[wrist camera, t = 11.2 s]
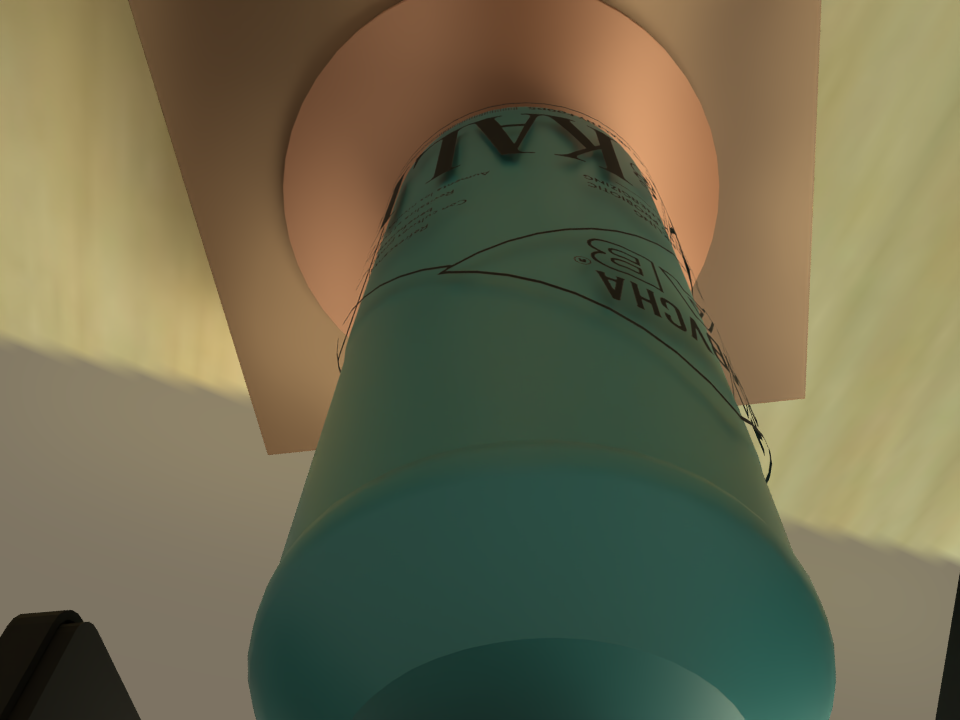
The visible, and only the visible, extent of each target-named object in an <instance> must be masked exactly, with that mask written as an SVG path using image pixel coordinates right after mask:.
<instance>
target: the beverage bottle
mask: <svg viewBox="0 0 960 720" xmlns="http://www.w3.org/2000/svg"><path fill="white" fill-rule="evenodd" d="M525 103H527V102H525ZM507 104H521V103H507ZM531 104H545V103H531ZM502 105H506V104H502ZM546 105H550V104H546ZM496 106H500V105H496ZM552 106H556V105H552ZM491 107H495V106H491ZM557 107H562V106H557ZM487 108H490V107H487ZM563 108H565V107H563ZM484 109H486V108H484ZM566 109H569V108H566ZM481 110H483V109H481ZM569 110H572V109H569ZM478 111H480V110H478ZM572 111H575V110H572ZM475 112H477V111H475ZM576 112H578V111H576ZM471 113H474V112H471ZM471 113H469V114H471ZM579 113H581V112H579ZM469 114H467V115H469ZM582 114H583V113H582ZM584 115H585V114H584ZM465 116H466V115H465ZM586 116H587V115H586ZM463 117H464V116H463ZM588 117H590V116H588ZM461 118H462V117H461ZM590 118H592V117H590ZM459 119H460V118H459ZM592 119H594V118H592ZM457 120H458V119H457ZM594 120H596V119H594ZM454 121H456V120H454ZM454 121H453V122H454ZM597 121H598V120H597ZM451 123H452V122H451ZM451 123H450V124H451ZM592 123H593V124H592ZM600 123H601V122H600ZM602 124H603V123H602ZM448 125H449V124H448ZM448 125H447V126H448ZM603 125H604V124H603ZM453 126H454V125H453ZM453 126H452V128H451V127H450V129H449V128H448V130H447V129H446V130H447V131H446V130H445V132H444V131H443V134H442V133H441V136H440V134H439V137H438V135H437V137H438V138H437V137H435V138H437V139H436V140H435V139H434V138H433V139H434V140H435V141H433V140H431V141H433V142H432V143H431V142H429V143H431V144H430V145H429V146H428V147H427V148H426V149H425V150H424V152H423V153H422V154H421V155H420V156H419V157H418V158H417V159H416V162H415V163H414V164H413V166H412V167H411V169H410V170H409V172H408V174H407V176H406V178H405V180H404V182H403V183H402V186H401V188H400V185H401V182H402V179H403V177H404V174H405V173H404V174H403V176H402V177H401V179H400V180H399V181H398V183H397V185H396V187H395V186H394V187H395V188H393V189H394V190H393V191H394V192H392V193H393V195H392V194H391V195H392V198H391V200H390V203H389V206H388V209H386V210H387V212H386V214H384V215H385V217H384V216H383V217H384V220H383V223H382V225H381V228H380V230H381V229H382V227H383V226H384V225H385V223H386V222H387V220H388V219H389V218H390V219H389V222H388V225H387V228H386V231H385V233H383V230H384V227H383V230H382V233H383V236H382V233H381V236H382V237H383V240H382V242H381V243H380V245H381V246H380V245H379V242H378V245H377V247H378V248H376V249H375V251H374V256H375V253H376V250H377V249H378V252H377V257H376V260H374V262H375V263H374V266H373V268H372V269H371V274H370V268H371V266H372V264H373V263H372V262H373V259H374V256H373V255H372V256H373V259H372V262H371V265H370V268H368V270H369V271H368V270H367V271H368V273H369V280H368V283H367V286H366V289H365V292H364V295H363V298H362V299H361V300H360V301H359V299H360V297H361V294H362V291H363V288H364V285H365V282H366V279H367V276H368V274H367V276H366V279H365V282H364V285H363V288H362V291H361V294H360V296H359V299H358V302H357V305H358V304H359V303H360V302H361V303H360V306H359V309H358V312H357V315H356V318H355V321H354V324H353V327H352V329H351V333H350V336H349V339H348V342H347V346H346V350H345V358H344V364H343V367H342V370H341V369H340V367H339V358H340V354H341V351H342V348H343V345H344V343H345V340H346V337H347V334H348V331H349V328H350V325H351V322H352V320H353V317H354V314H355V311H356V308H357V305H356V306H355V307H356V308H355V307H354V308H355V311H354V314H353V316H352V319H351V322H350V325H349V328H348V331H347V334H346V336H345V339H344V342H343V345H342V348H341V351H340V354H339V357H338V353H337V361H338V368H339V371H340V376H339V379H338V382H337V385H336V389H335V392H334V395H333V398H332V401H331V404H330V407H329V410H328V413H327V417H326V420H325V423H324V426H323V429H322V432H321V435H320V438H319V442H318V445H317V448H316V451H315V454H314V457H313V460H312V463H311V467H310V470H309V473H308V476H307V479H306V483H305V485H304V488H303V492H302V495H301V498H300V501H299V504H298V507H297V510H296V513H295V516H294V520H293V523H292V526H291V529H290V532H289V535H288V538H287V542H286V544H285V548H284V551H283V554H282V557H281V560H280V563H279V565H278V567H277V569H276V570H275V572H274V574H273V576H272V577H271V579H270V581H269V583H268V586H267V588H266V590H265V593H264V595H263V598H262V601H261V604H260V606H259V609H258V611H257V614H256V618H255V622H254V626H253V630H252V636H251V641H250V647H249V651H248V683H249V688H250V693H251V699H252V704H253V709H254V713H255V717H256V720H829V718H830V714H831V711H832V707H833V699H834V691H835V683H836V674H835V673H836V671H835V655H834V643H833V640H832V636H831V632H830V628H829V624H828V620H827V617H826V615H825V612H824V609H823V606H822V604H821V601H820V599H819V597H818V595H817V593H816V591H815V588H814V586H813V584H812V582H811V580H810V577H809V576H808V574H807V573H806V571H805V570H804V568H803V567H802V565H801V564H800V562H799V561H798V559H797V558H796V556H795V555H794V553H793V551H792V548H791V546H790V543H789V541H788V538H787V535H786V533H785V530H784V527H783V525H782V522H781V520H780V517H779V514H778V512H777V509H776V507H775V504H774V501H773V499H772V496H771V494H770V491H769V488H768V486H767V482H768V480H769V478H770V473H771V466H772V461H771V454H770V450H769V455H770V466H769V473H768V475H767V478H766V480H765V478H764V475H763V473H762V469H761V465H760V461H759V458H758V455H757V452H756V450H755V448H754V445H753V443H752V440H751V438H750V435H749V433H748V430H747V428H746V426H745V423H744V421H745V422H747V423H748V424H750V425H752V426H753V429H754V431H755V433H756V436H757V438H758V441H759V443H760V445H761V448H762V450H763V453H764V448H763V446H762V444H761V441H760V439H762V437H763V435H762V434H761V432H760V431H759V430H758V429H757V427H756V424H755V422H754V424H755V426H754V425H753V422H752V420H751V422H750V421H749V420H747V419H746V418H744V417H742V416H741V413H740V411H739V409H738V406H737V404H736V401H735V399H734V389H733V394H732V391H731V389H730V386H729V384H728V382H727V379H726V377H725V374H724V372H723V369H722V367H721V364H722V365H723V366H724V367H725V368H726V369H727V370H728V372H729V373H730V370H731V372H732V375H733V377H734V378H733V382H734V380H735V381H736V383H737V384H738V386H739V384H740V382H739V379H738V378H737V376H736V374H735V373H736V372H735V373H734V374H733V372H734V371H732V369H733V368H732V369H731V367H730V365H732V364H729V362H731V361H729V362H728V360H727V356H725V354H724V353H723V354H724V356H725V358H726V361H727V363H728V366H727V364H726V362H725V359H724V357H723V355H722V352H721V350H720V347H719V345H718V344H717V343H716V342H715V341H714V340H713V338H712V337H711V336H710V335H709V334H708V333H707V330H706V328H707V327H706V326H705V325H704V323H703V320H702V317H703V316H704V314H703V313H702V311H703V312H704V313H705V312H706V311H705V310H704V308H703V309H702V308H701V307H700V306H699V305H698V304H697V303H696V302H695V301H694V298H693V287H692V281H691V280H692V279H691V275H690V270H692V269H689V268H690V267H689V266H688V264H687V262H688V261H687V260H686V259H685V257H684V254H683V253H684V252H683V251H682V249H681V248H682V246H680V244H679V247H680V249H679V250H681V251H680V252H681V253H682V258H683V260H684V263H685V267H686V270H687V271H686V270H685V271H686V272H687V273H688V276H689V280H690V283H691V288H692V293H691V291H690V288H689V286H688V284H687V281H686V279H685V276H684V274H683V271H682V269H681V266H680V264H681V263H680V262H679V261H678V259H677V257H676V254H675V252H674V249H673V247H672V242H670V239H671V240H672V241H673V238H672V237H673V236H672V237H671V235H672V234H673V235H674V234H675V235H676V237H675V238H677V234H676V232H675V230H674V227H673V225H672V223H671V225H672V227H673V228H672V227H671V228H670V226H669V229H670V235H669V236H670V239H669V237H668V234H667V232H666V230H665V229H667V228H666V226H665V221H664V225H663V222H662V220H663V219H662V218H661V217H660V215H659V212H658V210H657V208H656V205H655V203H654V200H653V198H652V196H653V197H654V198H655V199H656V200H657V198H656V196H655V195H654V193H655V191H654V189H653V187H652V185H651V184H650V185H651V187H652V189H651V188H650V187H649V186H650V185H649V183H650V182H649V183H648V182H647V180H648V179H647V178H646V179H647V180H646V179H645V178H644V177H643V175H644V174H643V173H641V171H640V170H639V168H638V167H637V165H636V164H635V162H634V161H633V159H632V158H631V156H630V155H629V154H628V153H627V152H626V151H625V150H624V148H623V147H622V146H621V145H620V144H619V143H618V142H617V141H616V140H614V139H613V138H612V137H611V136H610V135H609V134H608V133H609V132H608V131H607V130H606V129H605V130H606V131H607V132H608V133H606V132H605V131H603V130H602V129H600V128H601V126H600V125H598V127H597V125H596V126H595V123H594V122H591V123H590V121H589V120H587V121H586V120H585V119H583V117H578V116H575V115H573V114H569V113H566V112H564V111H559V110H554V109H548V108H541V107H508V108H502V109H497V110H492V111H487V112H484V113H482V114H479V115H476V116H472V117H471V118H470V117H469V119H468V118H467V119H466V120H464V121H462V122H461V123H460V122H459V123H457V125H456V124H455V126H454V127H453ZM605 126H606V125H605ZM445 127H446V126H445ZM599 127H600V128H599ZM606 127H607V126H606ZM443 128H444V127H443ZM443 128H442V129H443ZM602 128H603V127H602ZM608 128H609V127H608ZM609 129H610V128H609ZM440 130H441V129H440ZM440 130H439V131H440ZM611 130H612V129H611ZM612 131H613V130H612ZM437 132H438V131H437ZM437 132H436V133H437ZM436 133H435V134H436ZM435 134H434V135H435ZM611 134H612V133H611ZM616 134H617V133H616ZM617 135H618V134H617ZM612 136H613V134H612ZM618 136H619V135H618ZM431 137H432V136H431ZM431 137H430V138H431ZM614 137H616V136H615V135H614ZM619 137H620V136H619ZM430 138H429V139H430ZM620 138H621V137H620ZM429 139H428V140H429ZM619 140H620V139H619ZM620 141H621V140H620ZM624 141H625V140H624ZM425 142H426V141H425ZM425 142H424V143H425ZM625 142H626V141H625ZM424 143H423V144H424ZM621 143H622V144H623V142H622V141H621ZM626 143H627V142H626ZM423 144H422V145H423ZM427 144H428V143H427ZM627 144H628V143H627ZM422 145H421V146H422ZM624 145H625V144H624ZM628 145H629V144H628ZM425 146H426V145H425ZM625 146H626V145H625ZM626 147H627V146H626ZM423 148H425V147H423ZM628 148H629V147H628ZM421 150H423V149H421ZM629 150H630V148H629ZM632 150H633V149H632ZM633 151H634V150H633ZM419 152H420V151H419ZM634 152H635V151H634ZM414 154H415V153H414ZM414 154H413V155H414ZM633 154H634V153H633ZM413 155H412V156H413ZM416 155H418V154H416ZM634 155H635V154H634ZM412 156H411V157H412ZM415 157H416V156H414V158H415ZM635 157H637V156H636V155H635ZM637 159H638V158H637ZM409 160H410V159H409ZM411 160H413V158H412V159H411ZM410 162H411V161H410ZM410 162H409V163H410ZM407 163H408V162H407ZM409 163H408V164H409ZM641 164H642V163H641ZM642 165H643V164H642ZM404 167H405V166H404ZM406 167H407V166H406ZM406 167H405V168H406ZM409 167H410V166H409ZM402 170H403V169H402ZM406 171H407V170H406ZM646 171H647V170H646ZM646 171H645V172H646ZM403 172H404V171H403ZM642 174H643V175H642ZM401 175H402V174H401ZM401 175H400V176H401ZM647 175H648V174H647ZM400 176H399V177H400ZM650 177H651V176H650ZM650 177H649V178H650ZM651 178H652V177H651ZM398 179H399V178H398ZM650 180H651V179H650ZM652 180H653V179H652ZM652 180H651V181H652ZM648 181H649V180H648ZM653 182H654V181H653ZM653 182H652V183H653ZM395 183H396V182H395ZM646 183H647V184H648V185H649V186H648V185H647V184H646ZM394 185H395V184H394ZM653 185H654V187H655V188H656V186H655V184H654V183H653ZM399 188H400V191H399ZM649 189H650V190H652V191H653V192H654V193H653V192H652V191H651V192H652V194H653V195H652V194H651V193H650V190H649ZM656 190H657V189H656ZM398 191H399V194H398ZM657 192H658V191H657ZM397 194H398V197H397ZM655 194H656V193H655ZM658 194H659V192H658ZM390 197H391V196H390ZM396 197H397V199H396ZM659 197H660V195H659ZM660 199H661V197H660ZM395 200H396V202H395ZM388 201H389V200H388ZM660 201H661V202H662V200H660ZM394 202H395V205H394ZM662 203H663V202H662ZM662 203H661V205H664V204H662ZM387 205H388V204H387ZM393 205H394V208H393ZM392 208H393V211H392ZM664 208H665V206H664ZM662 210H663V209H662ZM665 210H666V209H665ZM391 211H392V214H391ZM666 212H667V211H666ZM664 213H665V211H664ZM390 214H391V215H390ZM667 214H668V213H667ZM390 216H391V217H390ZM663 216H664V214H663ZM668 217H669V216H668ZM382 219H383V218H382ZM661 219H662V220H661ZM665 219H666V218H665ZM669 220H670V218H669ZM381 221H382V220H381ZM670 222H671V220H670ZM380 223H381V222H380ZM666 224H667V221H666ZM668 224H669V222H668ZM669 225H670V224H669ZM667 227H668V225H667ZM378 228H379V227H378ZM667 231H668V229H667ZM379 232H380V231H379ZM668 232H669V231H668ZM378 234H379V233H378ZM377 236H378V235H377ZM381 236H380V239H379V241H380V240H381ZM376 238H377V237H376ZM675 238H674V239H675ZM675 241H676V240H675ZM677 241H678V238H677ZM673 242H674V241H673ZM676 243H677V242H676ZM678 243H679V241H678ZM673 245H674V244H673ZM379 246H380V248H379ZM676 246H677V244H676ZM676 246H675V245H674V248H675V247H676ZM371 247H372V246H371ZM679 247H678V248H679ZM374 248H375V247H374ZM676 248H677V247H676ZM676 248H675V249H676ZM677 250H678V249H677ZM679 250H678V251H679ZM372 251H373V250H372ZM680 252H679V253H680ZM681 253H680V255H681ZM372 256H371V257H372ZM369 257H370V256H369ZM371 257H370V258H371ZM368 259H369V258H368ZM366 261H368V260H366ZM686 261H687V262H686ZM368 262H369V261H368ZM679 263H680V264H679ZM682 267H683V266H682ZM683 268H684V267H683ZM684 269H685V268H684ZM366 273H367V272H366ZM366 273H365V274H366ZM692 273H693V271H692ZM693 276H694V274H693ZM362 279H363V278H362ZM694 279H696V278H694ZM359 280H360V279H359ZM360 282H361V281H360ZM696 282H697V281H696ZM693 283H694V282H693ZM359 284H360V283H359ZM697 284H698V283H697ZM697 284H696V285H697ZM694 285H695V284H694ZM358 286H359V285H358ZM697 286H698V285H697ZM696 288H697V290H698V289H699V288H698V287H696ZM356 290H357V289H356ZM698 292H699V290H698ZM699 293H700V292H699ZM700 295H701V293H700ZM701 298H703V297H702V296H701ZM702 300H704V299H702ZM696 304H697V305H698V306H699V307H700V309H701V310H702V311H701V310H700V309H699V308H698V307H697V306H696ZM354 308H353V309H354ZM353 309H352V310H353ZM698 309H699V310H700V313H699V310H698ZM352 310H351V311H352ZM350 313H351V312H350ZM350 313H349V315H350ZM706 314H707V313H706ZM349 315H348V316H349ZM707 315H708V314H707ZM708 317H709V316H708ZM347 318H348V317H347ZM347 318H346V319H347ZM710 320H711V319H710ZM345 321H346V320H345ZM345 321H344V323H345ZM344 323H343V324H344ZM705 327H706V328H705ZM713 327H714V323H713V322H712V323H711V326H710V328H709V329H708V328H707V329H708V331H709V332H710V333H712V331H713ZM717 330H718V329H717ZM718 333H719V332H718ZM719 336H720V335H719ZM338 339H339V338H338ZM711 339H712V341H713V342H714V343H715V344H716V345H717V348H718V350H719V352H720V353H719V352H718V351H717V350H716V349H715V347H714V346H713V343H712V341H711ZM721 340H722V339H721ZM724 347H725V346H724ZM337 350H338V344H337ZM716 352H717V353H718V354H719V355H720V356H721V358H722V360H723V362H724V364H725V365H724V364H723V363H722V361H721V360H720V359H719V357H718V355H717V353H716ZM726 352H727V351H726ZM727 355H728V354H727ZM729 358H730V357H729ZM719 361H720V362H721V364H720V362H719ZM728 368H730V370H729V369H728ZM734 375H735V376H734ZM730 377H731V373H730ZM731 381H732V379H731ZM738 382H739V383H738ZM734 385H735V383H734ZM740 386H741V388H742V385H741V384H740ZM740 386H739V387H740ZM732 387H733V384H732ZM735 387H736V385H735ZM741 388H740V389H741ZM736 390H737V387H736ZM742 390H743V388H742ZM742 390H741V392H742ZM737 392H738V390H737ZM743 392H744V391H743ZM738 394H739V392H738ZM742 394H743V393H742ZM744 394H745V392H744ZM743 396H744V395H743ZM745 396H746V395H745ZM739 397H740V395H739ZM740 399H741V397H740ZM744 399H745V397H744ZM746 399H747V398H746ZM745 401H746V400H745ZM741 402H742V399H741ZM747 402H748V399H747ZM742 404H743V402H742ZM748 405H749V402H748ZM743 406H744V404H743ZM746 406H747V403H746ZM748 407H750V409H752V408H751V406H750V405H749V406H748ZM744 409H745V407H744ZM750 409H749V410H750ZM745 411H746V409H745ZM751 412H752V410H751V411H750V413H751ZM746 414H747V416H748V409H747V411H746ZM752 414H753V412H752ZM752 414H751V415H752ZM753 416H754V414H753ZM748 418H749V416H748ZM752 418H753V417H752ZM755 418H756V417H754V419H755ZM754 419H753V421H754ZM755 421H756V423H757V420H756V419H755ZM757 426H758V423H757ZM761 436H762V437H761ZM763 438H764V437H763ZM765 442H766V441H765ZM766 444H767V443H766ZM767 446H768V445H767ZM768 448H769V447H768ZM764 456H765V454H764Z"/></svg>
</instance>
